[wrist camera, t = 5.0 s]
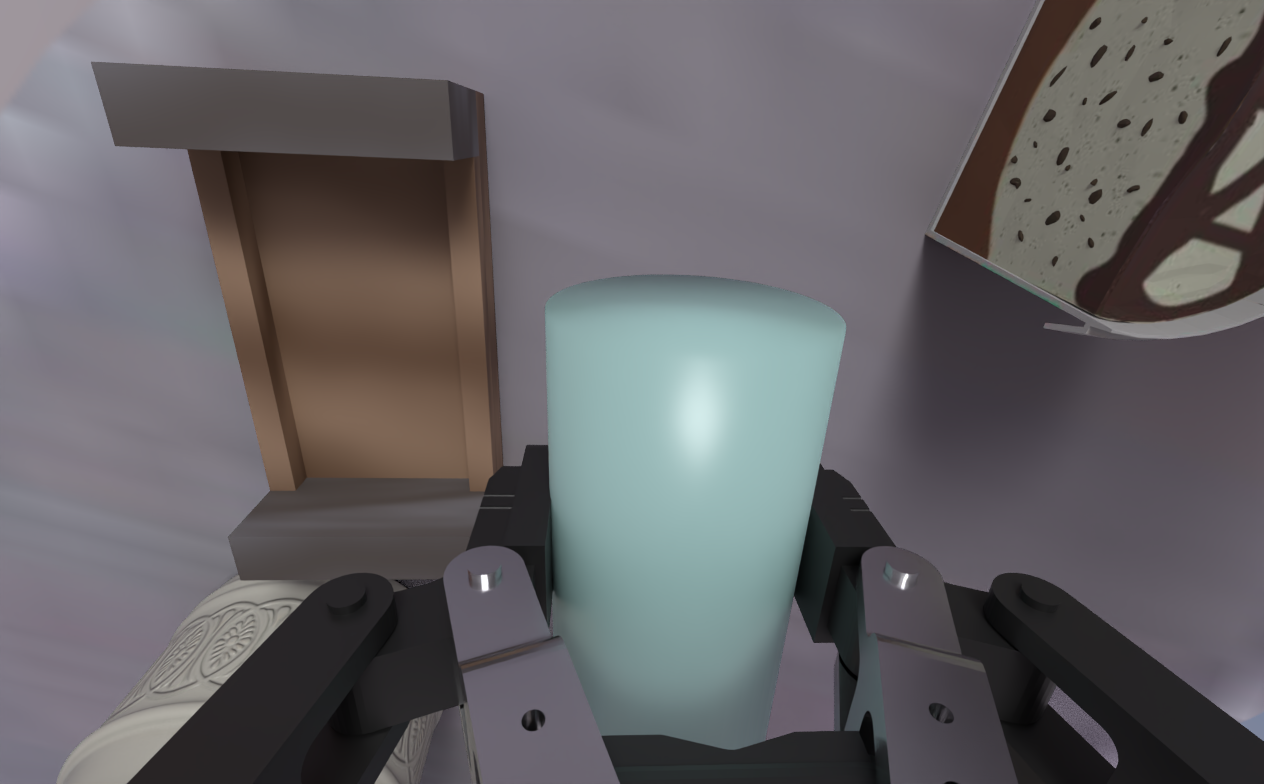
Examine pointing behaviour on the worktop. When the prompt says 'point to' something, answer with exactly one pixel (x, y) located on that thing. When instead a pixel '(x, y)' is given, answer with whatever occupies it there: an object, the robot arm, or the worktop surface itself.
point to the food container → (1123, 167)
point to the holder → (344, 301)
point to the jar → (212, 685)
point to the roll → (683, 492)
